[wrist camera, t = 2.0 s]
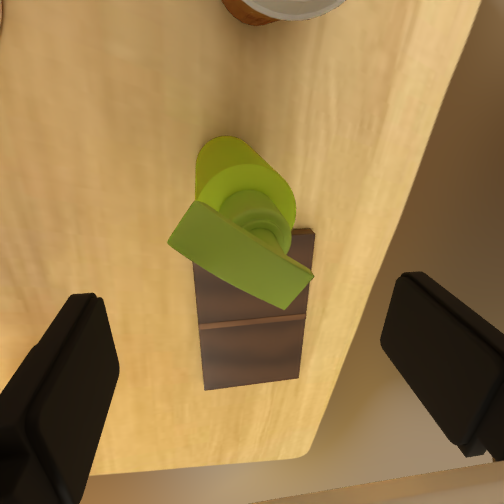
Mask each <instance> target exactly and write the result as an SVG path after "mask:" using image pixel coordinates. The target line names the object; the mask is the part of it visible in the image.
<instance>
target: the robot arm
mask: <svg viewBox="0 0 504 504" xmlns="http://www.w3.org/2000/svg"><path fill="white" fill-rule="evenodd" d="M1 19H2V3H1V0H0V25H1ZM380 342H381V346H382V349H383V350H384V351H385V353H386V354H387V356H388V357H389V358H390V360H391V361H392V362H393V364H394V365H395V367H396V368H397V369H398V371H399V372H400V373H401V375H402V376H403V378H404V379H405V380H406V382H407V383H408V384H409V386H410V387H411V389H412V390H413V391H414V393H415V394H416V395H417V397H418V398H419V400H420V401H421V402H422V404H423V405H424V406H425V408H426V409H427V411H428V412H429V413H430V415H431V416H432V417H433V419H434V420H435V422H436V423H437V424H438V426H439V427H440V428H441V430H442V431H443V432H444V434H445V435H446V437H447V438H448V439H449V440H450V442H452V443H453V444H455V445H457V446H458V448H459V449H460V450H461V452H462V453H463V454H464V456H465V457H472V456H478V455H483V454H484V453H485V451H486V450H488V452H489V453H490V454H491V455H492V457H493V458H492V459H493V463H487V464H481V465H475V466H468V467H463V468H457V469H450V470H444V471H438V472H432V473H426V474H420V475H414V476H408V477H402V478H396V479H390V480H385V481H378V482H373V483H367V484H360V485H355V486H349V487H344V488H337V489H331V490H325V491H319V492H313V493H308V494H302V495H296V496H290V497H284V498H279V499H273V500H267V501H261V502H256V503H251V504H504V334H503V333H501V332H500V331H499V330H498V329H496V328H495V327H494V326H493V325H491V324H490V323H488V322H487V321H486V320H485V319H483V318H482V317H481V316H480V315H478V314H477V313H476V312H474V311H473V310H472V309H471V308H469V307H468V306H467V305H465V304H464V303H463V302H461V301H460V300H459V299H458V298H456V297H455V296H454V295H452V294H451V293H450V292H448V291H447V290H446V289H445V288H443V287H442V286H441V285H439V284H438V283H437V282H435V281H434V280H433V279H432V278H430V277H429V276H428V275H426V274H425V273H423V272H406V273H403V274H402V275H401V277H399V278H398V279H397V280H396V283H395V287H394V290H393V294H392V298H391V302H390V305H389V309H388V312H387V316H386V319H385V323H384V327H383V331H382V334H381V339H380ZM118 377H119V361H118V357H117V353H116V349H115V345H114V341H113V337H112V333H111V329H110V325H109V321H108V317H107V313H106V309H105V305H104V301H103V299H102V298H101V297H98V298H97V297H96V295H95V294H94V293H84V294H72V295H71V296H70V297H69V298H68V300H67V301H66V303H65V304H64V305H63V307H62V308H61V310H60V311H59V313H58V314H57V316H56V317H55V319H54V320H53V322H52V323H51V325H50V326H49V328H48V329H47V331H46V332H45V334H44V335H43V337H42V338H41V340H40V341H39V343H38V344H37V345H35V346H34V347H33V348H32V349H31V350H30V352H29V353H28V355H27V356H26V357H25V359H24V360H23V362H22V363H21V365H20V366H19V368H18V369H17V371H16V372H15V374H14V375H13V376H12V378H11V379H10V381H9V382H8V384H7V385H6V387H5V388H4V390H3V391H2V392H1V394H0V504H79V503H80V501H81V499H82V496H83V493H84V490H85V486H86V483H87V480H88V477H89V473H90V470H91V467H92V463H93V460H94V457H95V453H96V450H97V447H98V443H99V440H100V437H101V433H102V430H103V427H104V423H105V420H106V417H107V413H108V410H109V407H110V403H111V400H112V397H113V393H114V390H115V387H116V383H117V380H118Z"/></svg>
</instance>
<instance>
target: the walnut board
mask: <svg viewBox="0 0 504 504" xmlns="http://www.w3.org/2000/svg"><path fill="white" fill-rule="evenodd" d="M291 235H292V240H291V246H290V249H289V251H288V253H287V256H289V257H290V258H292V259H294V260H295V261H297V262H299V263H300V264H302V265H304V266H305V267H307V268H309V269H310V270H311V267H312V258H313V250H314V241H315V233H314V232H313V231H312V229H293V230H291ZM193 270H194V281H195V292H196V303H197V314H198V326H199V336H200V347H201V358H202V369H203V380H204V390H205V391H206V390H213V389H221V388H228V387H236V386H244V385H251V384H259V383H266V382H274V381H282V380H289V379H297V378H299V370H300V361H301V353H302V344H303V336H304V327H305V319H306V310H307V301H308V293H309V284H310V282H309V283H308V284H307V285H306V287H305V288H304V289H303V290H302V291H301V292H300V293H299V294H298V296H297V297H296V298H295V299H294V300H293V301H292V302H291V304H290V305H289V306H288V307H287V308H286V309H285V310H283V309H281V308H279V307H276V306H274V305H272V304H270V303H268V302H266V301H264V300H261V299H259V298H257V297H255V296H253V295H251V294H249V293H247V292H245V291H243V290H241V289H239V288H237V287H235V286H233V285H231V284H229V283H227V282H226V281H224V280H222V279H220V278H219V277H217V276H215V275H213V274H212V273H210V272H208V271H207V270H205V269H204V268H202V267H200V266H199V265H197V264H196V263H194V262H193Z"/></svg>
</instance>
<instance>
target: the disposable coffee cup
mask: <svg viewBox="0 0 504 504" xmlns="http://www.w3.org/2000/svg"><path fill="white" fill-rule="evenodd" d="M344 1H346V0H222V2H223V4H224V5H225V7H226V8H227V9H228V11H229V12H230V13H231V14H232V15H233V16H234V17H235V18H237V19H238V20H240V21H241V22H243V23H246V24H249V25H254V26H259V25H265V24H268V23H271V22H275V21H278V20H285V21H298V20H309V19H312V18H315V17H318V16H321V15H324V14H326V13H328V12H330V11H331V10H333V9H335V8H337V7H338V6H340V5H341V4H342V3H343V2H344Z"/></svg>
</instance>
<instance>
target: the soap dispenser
mask: <svg viewBox="0 0 504 504" xmlns="http://www.w3.org/2000/svg"><path fill="white" fill-rule="evenodd" d="M295 217H296V203H295V198H294V195H293V192H292V190H291V188H290V186H289V185H288V183H287V182H286V181H285V180H284V179H283V178H282V177H281V176H280V175H279V174H278V173H277V172H276V171H275V170H274V169H273V168H272V167H271V166H270V165H269V164H268V163H267V162H266V161H265V160H263V159H262V158H261V157H260V156H259V155H258V154H257V153H256V152H255V151H254V150H253V149H252V148H251V147H250V146H249V145H248V144H246V143H245V142H244V141H242V140H241V139H239V138H236V137H232V136H221V137H217V138H214V139H212V140H210V141H209V142H208V143H206V144H205V145H204V146H203V148H202V149H201V150H200V152H199V154H198V157H197V160H196V177H195V201H194V202H193V203H192V205H191V206H190V208H189V209H188V210H187V212H186V213H185V215H184V216H183V218H182V219H181V221H180V222H179V224H178V225H177V227H176V228H175V230H174V232H173V233H172V235H171V236H170V238H169V239H168V241H167V243H168V245H170V246H171V247H172V248H174V249H175V250H176V251H178V252H179V253H181V254H182V255H184V256H185V257H187V258H188V259H190V260H191V261H193V262H194V263H196V264H197V265H199V266H200V267H202V268H204V269H205V270H207V271H208V272H210V273H212V274H213V275H215V276H217V277H219V278H220V279H222V280H224V281H226V282H227V283H229V284H231V285H233V286H235V287H237V288H239V289H241V290H243V291H245V292H247V293H249V294H251V295H253V296H255V297H257V298H259V299H261V300H264V301H266V302H268V303H270V304H272V305H274V306H276V307H279V308H281V309H283V310H285V309H286V308H287V307H288V306H289V305H290V304H291V302H292V301H293V300H294V299H295V298H296V297H297V296H298V294H299V293H300V292H301V291H302V290H303V289H304V288H305V287H306V285H307V284H308V283H309V282H310V281H311V280H312V279H313V278H314V275H313V273H312V272H311V270H310V269H309V268H307V267H305V266H304V265H302V264H300V263H299V262H297V261H295V260H294V259H292V258H290V257H289V256H287V253H288V251H289V249H290V246H291V240H292V235H291V230H292V228H293V225H294V222H295Z"/></svg>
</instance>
